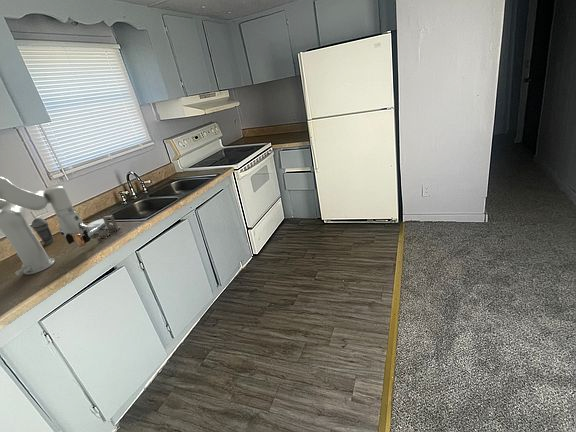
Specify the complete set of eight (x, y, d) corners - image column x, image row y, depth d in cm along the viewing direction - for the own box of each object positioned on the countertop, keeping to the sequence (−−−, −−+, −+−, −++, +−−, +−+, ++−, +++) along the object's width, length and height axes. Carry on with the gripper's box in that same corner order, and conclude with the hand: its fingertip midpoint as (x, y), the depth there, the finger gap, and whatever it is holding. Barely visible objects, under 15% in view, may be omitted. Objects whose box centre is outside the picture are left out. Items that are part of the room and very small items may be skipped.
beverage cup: (49, 245, 173) (31, 213, 165) (39, 246, 175) (21, 215, 167) (60, 239, 179) (43, 208, 171) (50, 239, 181) (33, 209, 173)
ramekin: (88, 236, 175) (84, 228, 173) (92, 229, 185) (89, 221, 183) (108, 231, 177) (105, 223, 175) (112, 224, 187) (109, 216, 185)
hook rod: (83, 246, 154) (77, 236, 152) (77, 247, 155) (72, 236, 152) (110, 228, 172) (105, 219, 169) (104, 229, 173) (100, 219, 170)
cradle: (105, 238, 167) (102, 230, 166) (98, 239, 168) (94, 231, 167) (110, 234, 171) (107, 227, 169) (103, 235, 172) (99, 228, 170)
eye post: (115, 231, 174) (108, 217, 170) (107, 232, 175) (100, 218, 172) (120, 227, 178) (114, 214, 175) (112, 228, 180) (106, 214, 176)
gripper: (85, 207, 150) (99, 237, 156) (57, 210, 153) (71, 239, 160) (73, 213, 143) (88, 244, 150) (44, 216, 147) (59, 246, 153)
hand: (79, 242), depth 155 cm, fingers open, 9 cm apart
